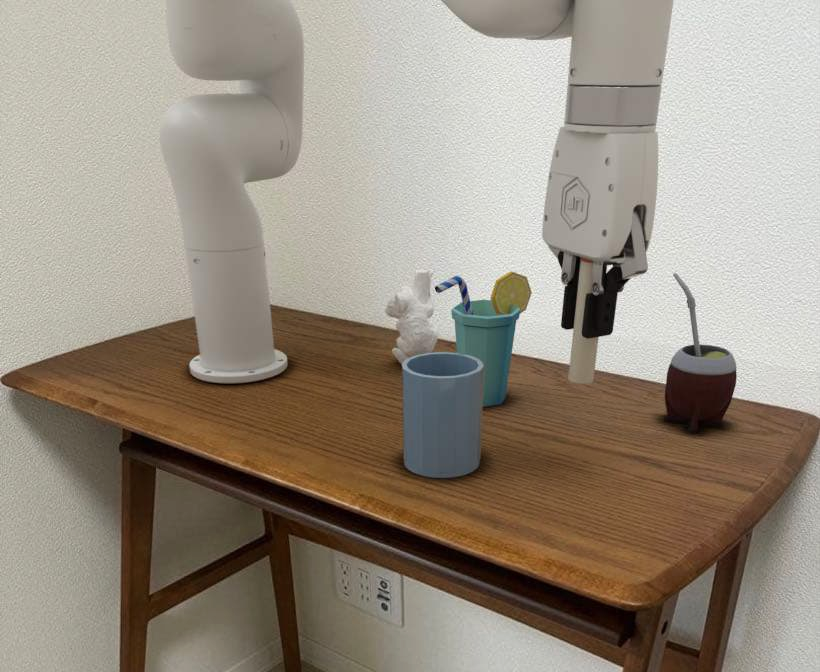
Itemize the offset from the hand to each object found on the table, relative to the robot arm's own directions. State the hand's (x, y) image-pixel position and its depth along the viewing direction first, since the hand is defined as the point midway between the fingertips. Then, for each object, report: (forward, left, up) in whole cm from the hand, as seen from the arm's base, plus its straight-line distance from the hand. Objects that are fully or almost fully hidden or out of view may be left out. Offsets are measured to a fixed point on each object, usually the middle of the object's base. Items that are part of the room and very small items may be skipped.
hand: (586, 329), depth 77 cm
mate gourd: (-1, +16, -13) cm, 21 cm away
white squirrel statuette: (-33, -1, -13) cm, 35 cm away
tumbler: (-5, -13, -13) cm, 19 cm away
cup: (-18, -1, -13) cm, 22 cm away
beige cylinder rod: (0, 0, -5) cm, 5 cm away
